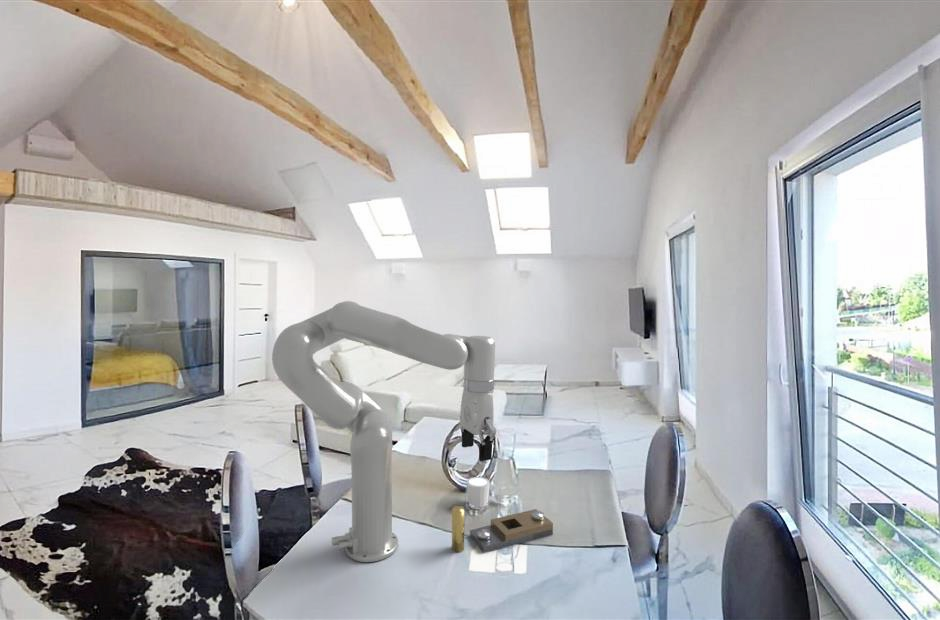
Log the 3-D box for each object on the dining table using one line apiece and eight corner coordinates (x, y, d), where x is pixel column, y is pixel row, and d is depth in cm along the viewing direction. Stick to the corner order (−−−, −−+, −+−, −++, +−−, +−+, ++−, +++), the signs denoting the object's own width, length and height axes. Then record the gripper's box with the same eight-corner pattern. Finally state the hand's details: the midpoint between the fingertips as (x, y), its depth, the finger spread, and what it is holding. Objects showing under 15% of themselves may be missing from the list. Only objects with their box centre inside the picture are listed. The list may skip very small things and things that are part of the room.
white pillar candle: (487, 511, 127) (487, 487, 126) (463, 509, 128) (464, 485, 128) (491, 500, 133) (491, 477, 133) (468, 498, 135) (469, 475, 134)
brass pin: (454, 553, 107) (454, 513, 106) (449, 547, 109) (450, 507, 109) (466, 550, 108) (466, 510, 107) (461, 544, 111) (461, 504, 110)
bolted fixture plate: (483, 552, 107) (483, 536, 107) (469, 535, 114) (469, 520, 114) (552, 534, 115) (553, 519, 115) (535, 519, 123) (536, 505, 122)
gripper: (450, 379, 117) (448, 443, 118) (481, 394, 102) (478, 468, 102) (476, 378, 120) (473, 440, 121) (509, 392, 105) (506, 463, 106)
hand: (476, 453), depth 112 cm, fingers open, 9 cm apart
